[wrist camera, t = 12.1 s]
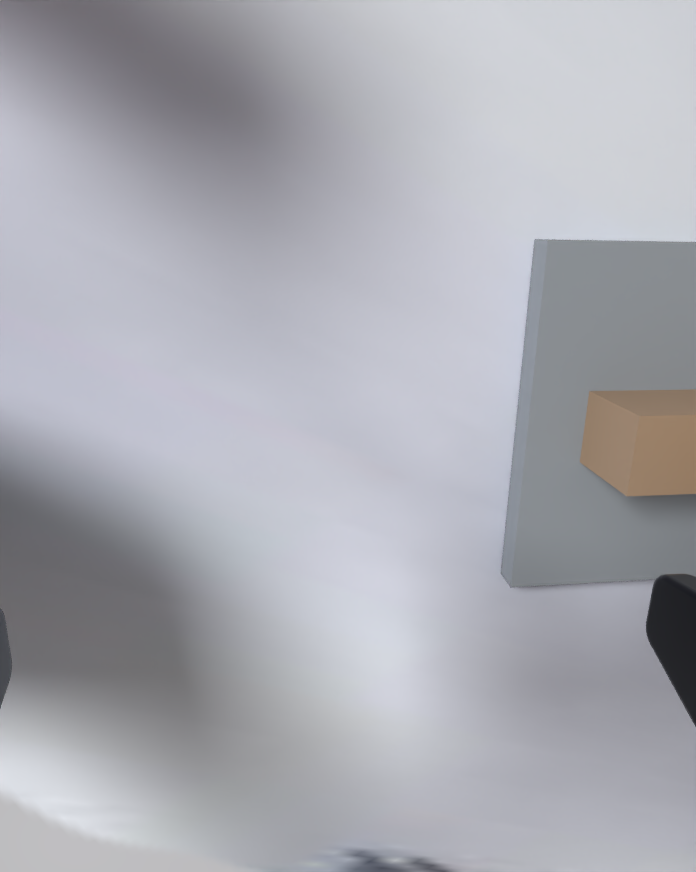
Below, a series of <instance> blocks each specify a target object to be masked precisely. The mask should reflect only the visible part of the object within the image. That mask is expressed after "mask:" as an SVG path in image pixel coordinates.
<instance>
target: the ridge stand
mask: <svg viewBox="0 0 696 872" xmlns="http://www.w3.org/2000/svg"><path fill="white" fill-rule="evenodd" d="M664 574H689V575H692V576H695V577H696V242H654V241H597V240H540V239H535V241H534V251H533V261H532V271H531V281H530V291H529V300H528V310H527V320H526V330H525V340H524V350H523V360H522V369H521V379H520V389H519V399H518V409H517V419H516V429H515V438H514V448H513V458H512V468H511V478H510V488H509V497H508V507H507V517H506V527H505V537H504V547H503V557H502V566H501V575H502V576H503V577H504V579H505V580H506V582H507V583H508V584H509V586H510V587H528V586H546V585H564V584H581V583H599V582H616V581H634V580H652V579H656V578H658V577H659V576H660V575H664Z"/></svg>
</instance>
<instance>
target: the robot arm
mask: <svg viewBox="0 0 696 872" xmlns="http://www.w3.org/2000/svg"><path fill="white" fill-rule="evenodd" d="M646 632H647V637H648V640H649V642H650V644H651V646H652V648H653V650H654V652H655V653H656V655H657V657H658V659H659V661H660V663H661V664H662V666H663V668H664V670H665V672H666V674H667V675H668V677H669V679H670V681H671V683H672V685H673V686H674V688H675V690H676V692H677V694H678V696H679V697H680V699H681V701H682V703H683V705H684V707H685V708H686V710H687V712H688V714H689V716H690V718H691V719H692V721H693V723H694V724H695V726H696V577H695V576H692V575H689V574H664V575H660V576H659V577H658V578H656V580H655V582H654V585H653V589H652V594H651V600H650V605H649V610H648V616H647V621H646ZM11 669H12V660H11V653H10V647H9V641H8V634H7V628H6V622H5V617H4V614H3V611H2V609H1V608H0V708H1V705H2V702H3V699H4V695H5V692H6V689H7V686H8V683H9V680H10V676H11Z"/></svg>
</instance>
